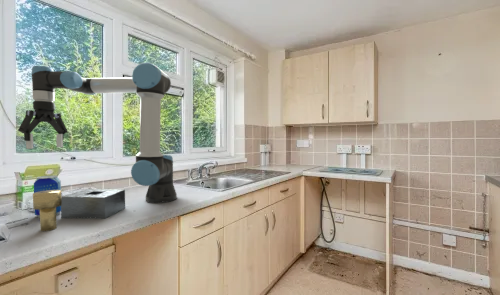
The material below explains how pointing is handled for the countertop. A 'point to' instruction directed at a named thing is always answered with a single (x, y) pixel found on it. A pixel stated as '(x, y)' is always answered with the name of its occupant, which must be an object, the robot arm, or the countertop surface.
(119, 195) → the block
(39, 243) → the countertop surface
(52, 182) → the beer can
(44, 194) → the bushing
